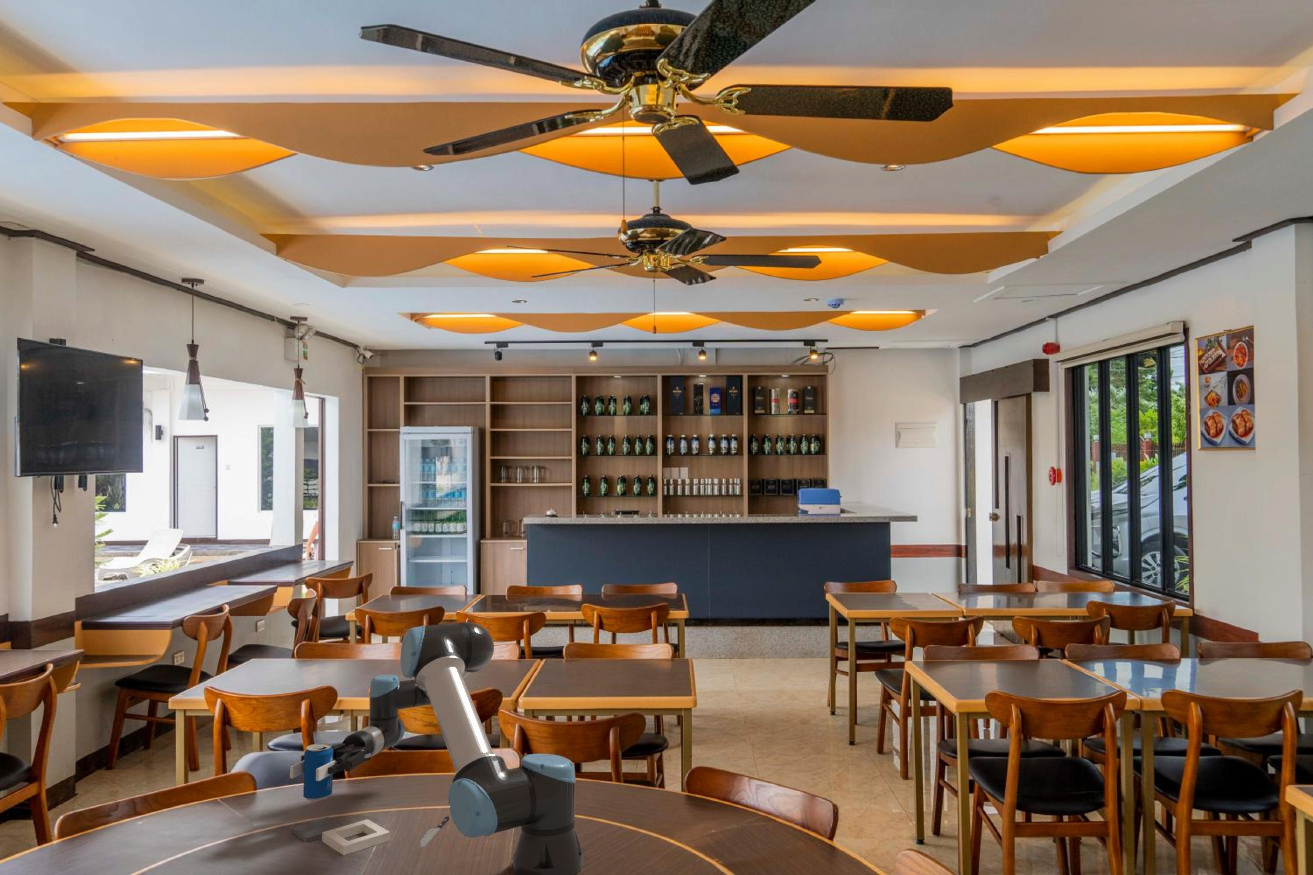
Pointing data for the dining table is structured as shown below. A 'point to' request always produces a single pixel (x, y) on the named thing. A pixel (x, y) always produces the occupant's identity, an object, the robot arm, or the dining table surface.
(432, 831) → the chef's knife
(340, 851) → the can holder
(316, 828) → the coaster
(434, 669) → the robot arm
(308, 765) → the beverage can
